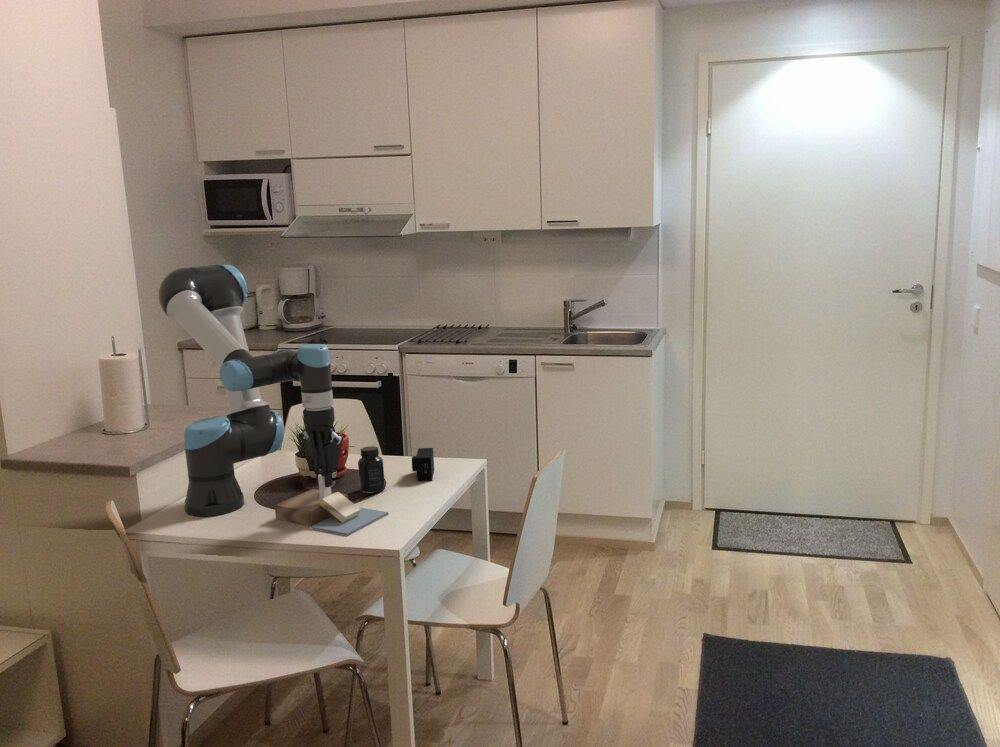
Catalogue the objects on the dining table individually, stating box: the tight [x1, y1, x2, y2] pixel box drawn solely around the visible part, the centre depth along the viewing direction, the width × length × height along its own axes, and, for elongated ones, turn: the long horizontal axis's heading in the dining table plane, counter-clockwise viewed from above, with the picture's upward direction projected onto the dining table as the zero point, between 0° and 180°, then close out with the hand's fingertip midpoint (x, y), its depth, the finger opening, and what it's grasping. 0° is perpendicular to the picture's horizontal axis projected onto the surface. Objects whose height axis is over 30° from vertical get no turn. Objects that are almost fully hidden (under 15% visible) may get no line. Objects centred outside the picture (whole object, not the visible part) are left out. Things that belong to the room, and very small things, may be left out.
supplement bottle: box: [357, 445, 386, 494], centre depth 245 cm, size 7×7×12 cm
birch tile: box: [320, 491, 361, 523], centre depth 223 cm, size 8×6×2 cm
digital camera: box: [411, 447, 435, 482], centre depth 257 cm, size 10×5×7 cm, turn 1°
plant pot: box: [335, 431, 350, 478], centre depth 261 cm, size 13×13×12 cm
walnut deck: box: [274, 488, 349, 528], centre depth 228 cm, size 12×14×4 cm
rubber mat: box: [310, 506, 389, 537], centre depth 222 cm, size 12×16×1 cm
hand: (325, 498), depth 225 cm, fingers closed
